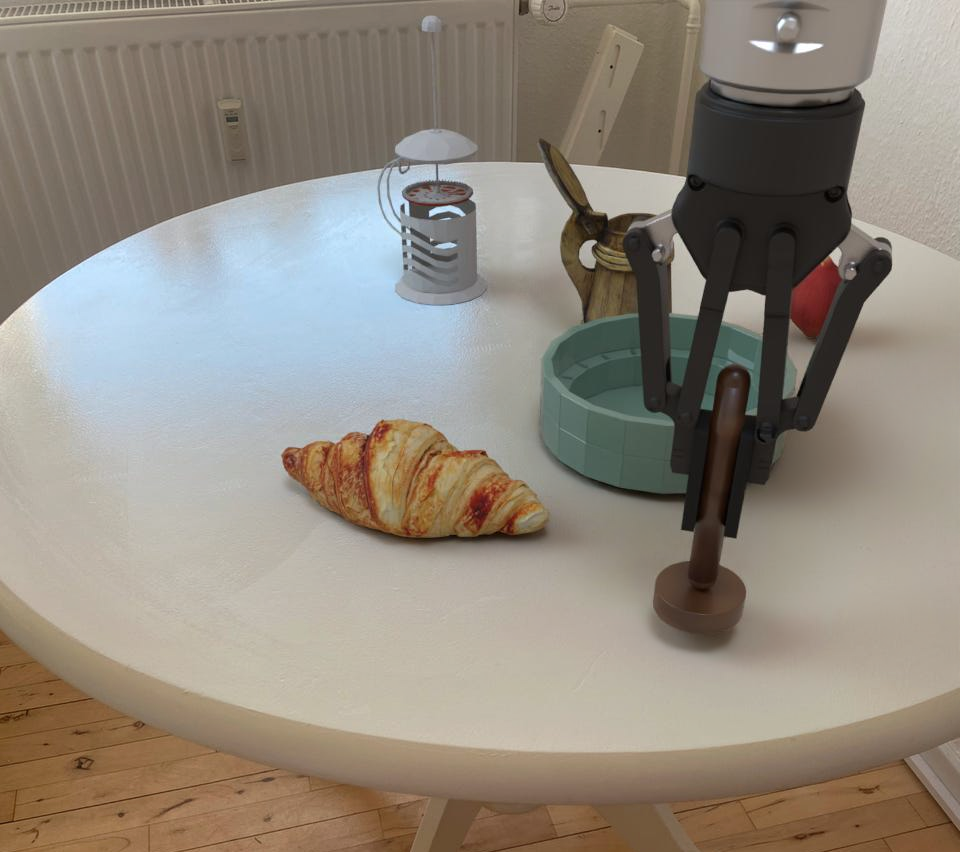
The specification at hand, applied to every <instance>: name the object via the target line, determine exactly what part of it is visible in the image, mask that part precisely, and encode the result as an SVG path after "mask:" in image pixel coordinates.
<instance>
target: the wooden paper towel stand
mask: <svg viewBox="0 0 960 852" xmlns="http://www.w3.org/2000/svg"><path fill="white" fill-rule="evenodd" d="M750 385H751V375H750V373H749V371H748V369H747V368H746V367H744V366H743V365H740V364H729V365H727V366H725V367H724V368H723V369H722V370H721V371H720V372H719V374H718V377H717V382H716V389H715V396H714V402H713V409H712V416H711V426H710V432H709V439H708V445H707V452H706V459H705V465H704V472H703V479H702V485H701V492H700V499H699V505H698V512H697V518H696V524H695V528H694V532H693V536H692V542H691V543H692V544H691V550H690V556H689V560H684V561H683V560H682V561H680V562H675V563H672V564H670V565H668V566H667V567H665V568H663V569H662V570H661V571H660V572H659V573H658V575H657V576H656V578H655V583H654V589H653V597H652V598H653V599H652V607H653V610H654V611H655V614H656V616H658V618H659V619H660V620H661V621H662V622H663V623H665V624H666V625H667V626H669V627H671V628H673V629H674V630H678V631H681V632H684V633H687V634H692V635H702V636H703V635H704V636H705V635H715V634H721V633H723V632H726V631H728V630H731V629H732V628H733V627H735V626H736V625H737V624H738V623H739V622H740V620H741V619H742V616H743V614H744V608H745V603H746V597H747V588H746V585H745V582H744V581H743V580H742V578H741V577H740V576H739V575H738V574H737V573H735V571H732V570H731V569H729V568H727V567H725V566H723V565H721V564H720V563H721V558H722V553H723V547H724V540H725V537H723V536H724V530H725V525H726V519H727V513H728V507H729V501H730V495H731V490H732V484H733V478H734V472H735V466H736V460H737V455H738V449H739V443H740V437H741V432H742V428H743V426H744V420H745V414H746V408H747V403H748V397H749V391H750Z"/></svg>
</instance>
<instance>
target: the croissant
mask: <svg viewBox="0 0 960 852" xmlns="http://www.w3.org/2000/svg"><path fill="white" fill-rule="evenodd" d="M281 461H282V465H283V469H285V472H287V474H288V476H289V477H290V478H292V479H293V480H295V481H297V482H298V483H299V484H300V485H301V486H303V487H304V488H306V491H308V493H309V494H310V496H311V498H313V500H314V501H315V502H317V503H319V505H320V506H321V507H323V508H326V509H327V510H329V511H330V512H333V513H334V512H335V513H336V514H339V515H340V516H342V517H343V518H344V519H345V520H347V521H348V522H350V523H352V524H355V525H357V526H360V527H364V528H365V527H366V528H369V529H372V530H379V531H382V532H384V533H388V534H392V535H394V536H400V537H404V538H427V539H429V538H431V539H432V538H443V537H449V536H451V535H452V536H453V535H455V536H457V537H460V538H472V537H474V538H475V537H478V536H480V535H493V534H494V533H496V532H501V533H503V534H507V535H510V536H515V535H516V536H517V535H524V534H530V533H534V532H537V531H539V530H541V529H543V528H544V527H546V526H547V525H548V523H549V522H550V510H549V508H546V506H544V505H543V503H542V501H541V499H540V498H538V497H537V494H536V493H535V492H534V491H533V489H531V488H530V487H529V485H528V484H527V483H526V482H525V481H523V480H520V479H512V478H510V476H509V474H508V473H507V472H505V471H504V469H503V468H502V467H501V466H500V464H499V463H498V462H497V461H496V459H493V458H491V457H489V455H488V454H487V450H484V449H466V450H459V449H458V448H457V446H455V445H453V444H452V443H451V442H449V441H448V439H447V437H446V436H445V435H444V433H442V432H440V431H439V430H438V429H436V428H434V427H433V426H432V425H431V424H429V423H425V422H422V421H421V422H419V421H413V420H407V419H403V418H401V419H400V418H399V419H386V420H384V419H381V420H380V421H378V422H377V423H376V424H375V426H374V427H373V429H372V430H371V432H370V433H369V434H367V433H366V432H364V433H363V432H359V431H352V432H348V433H347V434H346V435H344V436H343V437H342V438H341V439H340V441H338V442H336V443H334V442H333V441H331V440H316V441H314V442H310V443H308V444H306V445H305V446H303V447H296V446H287V447H286V448H285V449H284V451H283V452H281Z"/></svg>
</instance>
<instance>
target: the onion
mask: <svg viewBox="0 0 960 852" xmlns="http://www.w3.org/2000/svg"><path fill="white" fill-rule="evenodd" d="M841 279H842V278H841V277H840V276H839V274H838V265H837V264H836V263H835V262H834V260H833V259H832V257H831V256H830V255H829V256H828V257H827V258H826V259H825V260H824V261H823V262H822V263H821V264H820V265H819V266H818V267H816V268H815V269H814V270H813V271H812V272H811V273H810V274H809V275H808V276H807V277H806V278H805V279H804V280H803V281H802V282H801V283H800V284H799V285H798V286H796V287H795V288H793V295H792V305H791V315H790V321H791V322H792V323H793V324H794V325H795V326H796V327H797V328H798V329H799V330H800V331H801V332H802V334H803V335H804V336H805V337H806V338H807V339H814V338H818V337H819V335H820V332H821V330H822V327H823V324H824V322H825V319H826V316H827V314H828V311H829V309H830V306H831V303H832V301H833V298H834V296H835V293H836V290H837V288H838V285H839V283H840V281H841Z"/></svg>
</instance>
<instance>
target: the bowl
mask: <svg viewBox="0 0 960 852" xmlns="http://www.w3.org/2000/svg"><path fill="white" fill-rule="evenodd" d="M697 319H698V315H693V314H685V313H683V314H682V313H674V312H672V313H669V321H670V345H671V368H672V382H673V383H675V384H677V385H679V386H681V387H682V385H683V380H684V376H685V371H686V367H687V363H688V358H689V354H690V350H691V345H692V341H693V336H694V332H695V328H696V323H697ZM762 341H763V334H759V333H757V332H755V331H752V330H751V329H748V328H745V327H743V326H742V325H738V324H735V323H731V322H728V321H724V320H722V323H721V327H720V331H719V335H718V339H717V343H716V347H715V351H714V356H713V360H712V364H711V368H710V372H709V376H708V380H707V384H706V388H705V392H704V397H703V400H702V404H701V409H706V410H712V409H713V402H714V396H715V389H716V382H717V377H718V374H719V372H720V371H721V370H722V369H723V368H724V367H725V366H727V365H729V364H740V365H743V366H744V367H746V368H747V369H748V371H749V373H750V375H751V385H750V391H749V397H748V403H747V408H746V414H745V415H753V416H757V405H758V392H759V379H760V366H761V353H762ZM540 361H541V365H540V399H539V427H540V434H541V439H542V442H543V443H544V445H545V446H546V447H547V448H548V450H549V451H550V452H551V453H552V454H553V456H554V457H555V458H556V459H557V460H558V461H559V462H561V463H562V464H564V465H565V466H568V467H569V468H571V469H572V470H574V471H576V472H578V473H579V474H580V475H582V476H584V477H586V478H590V479H591V480H592V479H593V480H595V481H598V482H601V483H605V484H608V485H611V486H613V487H616V488H619V489H627V490H633V491H640V492H641V491H642V492H647V493H654V494H661V495H666V494H686V489H687V482H688V475H685V474H678V473H672V470H671V467H670V460H671V452H672V444H673V436H674V422H673V420H672V419H671V418H670V417H669V416H667V415H666V414H664V413H661V412H658V413H652V412H650V411H648V410H647V409H646V408H645V406H644V399H643V382H642V366H641V349H640V333H639V317H638V313H631V314H625V315H619V316H612V317H606V318H600V319H596V320H593V321H590V322H587V323H585V324H582V325H580V324H579V325H577V326H574V327H570V328H568V329H567V330H565V331H564V332H563V333H561V334H560V335H558V336H557V337H556V338H554V339H553V340H551V341H550V342H549V345H548V347H547V348H546V350H545V352H544V354H543V356H542V357H541V359H540ZM797 375H798V369H797V368H796V366H795V364H794V362H793V361H792V359H791V357H790V355H789V354H788V353H787V358H786V369H785V379H784V390H783V399H786V398H792V397H795V396H794V394H795V392H796V391H795V390H796V384H797V383H796V382H797ZM786 435H787V431H785V432H783V433H781V434H780V435H779V436H778V438H777V440H776V445H775V450H774V455H773V460H772V465H774V463H775V462H776V461H777V460H778V459H779V458H780V457H781V455H783V451H784V445H785V440H786Z"/></svg>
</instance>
